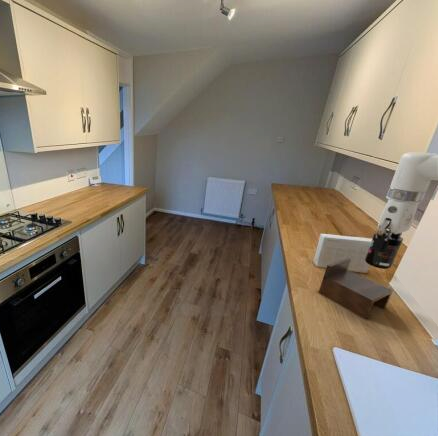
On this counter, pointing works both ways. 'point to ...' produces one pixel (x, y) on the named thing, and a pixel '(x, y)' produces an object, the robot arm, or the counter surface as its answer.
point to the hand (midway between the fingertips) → (383, 247)
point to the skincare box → (342, 251)
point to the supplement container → (388, 256)
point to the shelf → (353, 289)
